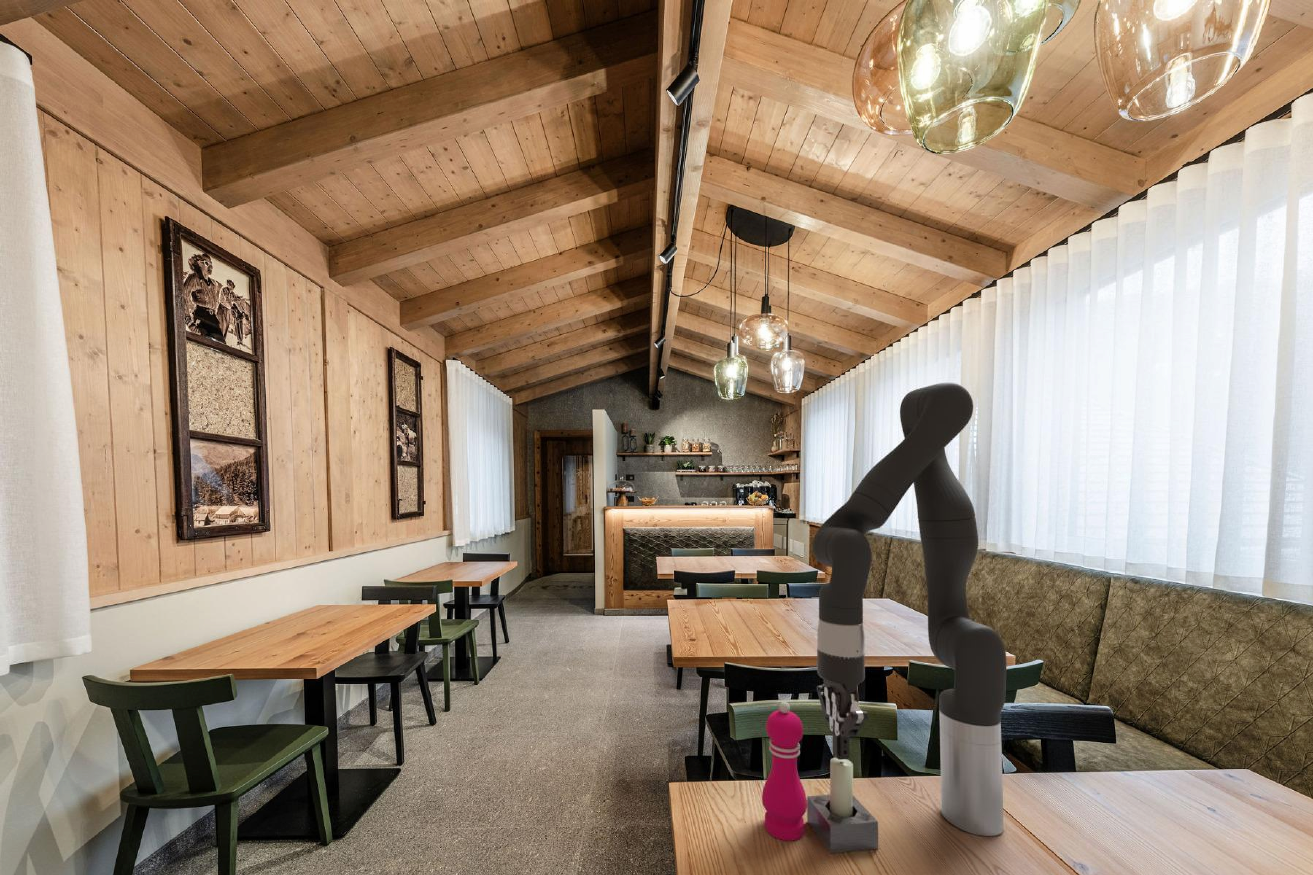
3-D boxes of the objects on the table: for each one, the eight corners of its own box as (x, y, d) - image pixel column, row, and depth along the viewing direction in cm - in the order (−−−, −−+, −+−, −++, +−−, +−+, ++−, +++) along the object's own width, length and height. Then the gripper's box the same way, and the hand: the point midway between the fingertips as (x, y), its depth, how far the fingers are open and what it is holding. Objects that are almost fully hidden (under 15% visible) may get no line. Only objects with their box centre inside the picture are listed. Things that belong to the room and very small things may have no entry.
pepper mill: (808, 846, 85) (808, 713, 86) (761, 839, 86) (762, 708, 88) (805, 818, 92) (805, 696, 93) (761, 812, 93) (762, 692, 95)
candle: (835, 818, 90) (836, 754, 91) (856, 827, 88) (856, 762, 89) (825, 827, 88) (826, 761, 89) (846, 837, 85) (847, 770, 86)
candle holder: (851, 817, 92) (851, 792, 93) (878, 848, 84) (877, 821, 85) (807, 821, 91) (807, 796, 91) (830, 853, 83) (830, 825, 83)
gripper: (884, 660, 84) (885, 777, 83) (841, 636, 97) (841, 737, 96) (839, 661, 83) (839, 780, 82) (802, 637, 96) (801, 739, 95)
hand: (840, 756), depth 89 cm, fingers closed
